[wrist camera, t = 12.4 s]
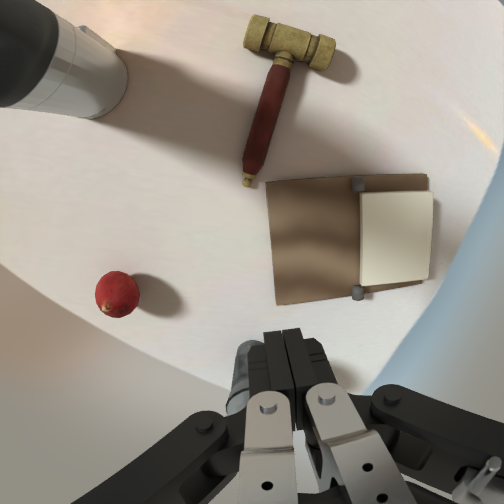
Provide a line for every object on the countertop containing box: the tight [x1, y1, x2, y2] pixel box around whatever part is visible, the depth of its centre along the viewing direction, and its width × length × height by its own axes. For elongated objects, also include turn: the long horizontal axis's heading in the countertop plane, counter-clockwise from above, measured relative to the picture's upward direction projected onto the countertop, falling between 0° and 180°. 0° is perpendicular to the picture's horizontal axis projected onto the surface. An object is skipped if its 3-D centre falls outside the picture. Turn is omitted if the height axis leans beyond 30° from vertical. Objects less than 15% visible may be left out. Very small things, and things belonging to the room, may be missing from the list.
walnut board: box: [265, 174, 427, 306], centre depth 38 cm, size 16×22×3 cm
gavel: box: [242, 15, 336, 187], centre depth 33 cm, size 21×5×10 cm
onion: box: [95, 271, 140, 318], centre depth 36 cm, size 6×6×8 cm
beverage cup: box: [226, 340, 263, 416], centre depth 35 cm, size 7×7×20 cm
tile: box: [360, 191, 433, 286], centre depth 37 cm, size 12×10×1 cm
